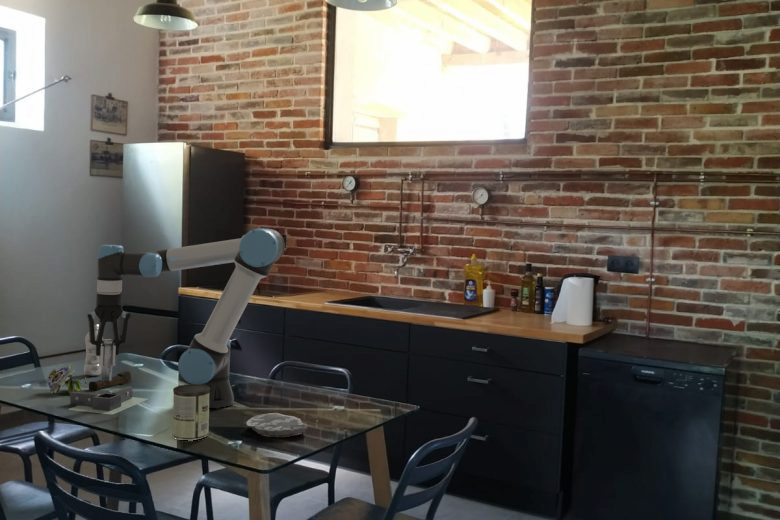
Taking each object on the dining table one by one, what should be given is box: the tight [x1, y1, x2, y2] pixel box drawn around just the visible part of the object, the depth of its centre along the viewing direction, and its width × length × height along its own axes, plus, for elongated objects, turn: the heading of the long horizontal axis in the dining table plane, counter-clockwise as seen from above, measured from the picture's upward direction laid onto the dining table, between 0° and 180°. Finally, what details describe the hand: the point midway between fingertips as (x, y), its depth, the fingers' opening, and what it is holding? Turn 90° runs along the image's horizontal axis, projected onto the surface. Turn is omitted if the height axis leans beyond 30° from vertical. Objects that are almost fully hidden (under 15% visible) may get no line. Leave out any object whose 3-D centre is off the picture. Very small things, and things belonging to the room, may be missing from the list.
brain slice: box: [245, 412, 309, 435], centre depth 216 cm, size 20×17×3 cm
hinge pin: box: [100, 338, 114, 381], centre depth 231 cm, size 4×4×13 cm
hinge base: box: [69, 391, 121, 411], centre depth 233 cm, size 16×6×4 cm, turn 77°
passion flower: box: [46, 364, 88, 396], centre depth 250 cm, size 11×11×12 cm
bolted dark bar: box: [111, 385, 133, 402], centre depth 240 cm, size 1×10×4 cm, turn 167°
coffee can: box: [172, 383, 210, 442], centre depth 208 cm, size 10×10×14 cm
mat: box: [68, 396, 149, 416], centre depth 237 cm, size 16×21×1 cm
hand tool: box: [88, 370, 132, 392], centre depth 262 cm, size 19×4×5 cm, turn 154°
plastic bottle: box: [83, 323, 104, 377], centre depth 277 cm, size 6×7×20 cm
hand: (106, 365), depth 231 cm, fingers closed on hinge pin, 3 cm apart
